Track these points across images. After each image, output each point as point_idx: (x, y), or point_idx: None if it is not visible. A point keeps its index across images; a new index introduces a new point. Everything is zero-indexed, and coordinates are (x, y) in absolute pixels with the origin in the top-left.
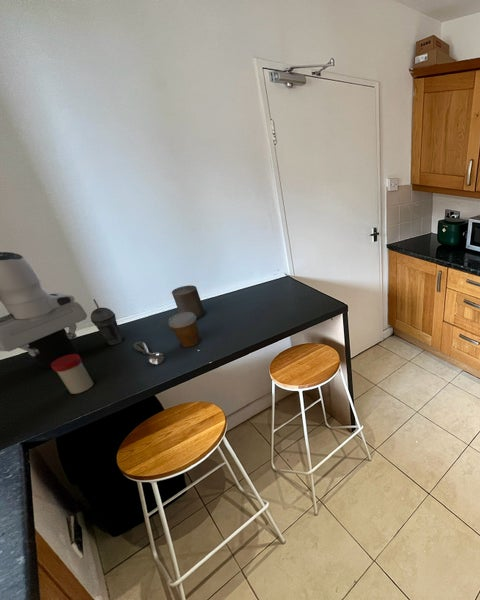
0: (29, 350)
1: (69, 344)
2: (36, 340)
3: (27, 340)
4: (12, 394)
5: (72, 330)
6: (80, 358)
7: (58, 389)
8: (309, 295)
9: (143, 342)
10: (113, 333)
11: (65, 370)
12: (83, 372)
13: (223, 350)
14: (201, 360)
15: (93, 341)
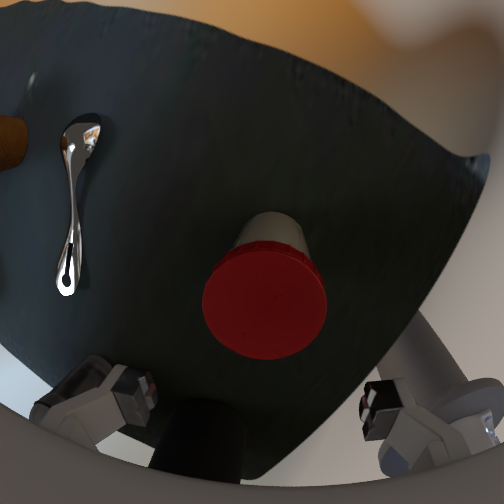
0: (428, 415)
1: (169, 432)
2: None
3: (458, 489)
4: (341, 393)
5: (95, 407)
6: (214, 267)
7: None
8: None
9: (56, 275)
10: (80, 375)
11: None
12: (249, 232)
13: (29, 25)
14: (65, 22)
15: None
